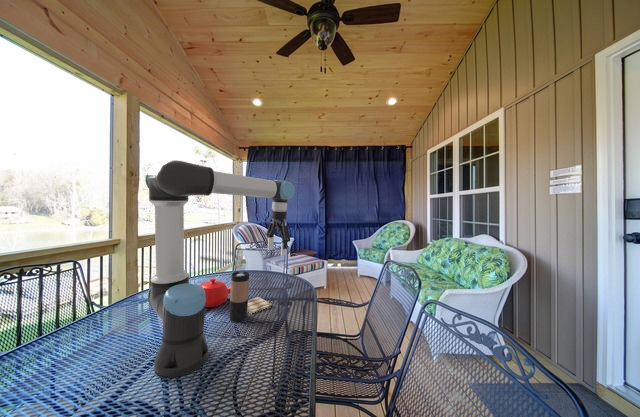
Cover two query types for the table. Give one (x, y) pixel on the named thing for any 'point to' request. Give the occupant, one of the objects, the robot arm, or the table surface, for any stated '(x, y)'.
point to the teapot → (215, 292)
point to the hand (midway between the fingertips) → (276, 252)
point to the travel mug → (239, 296)
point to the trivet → (257, 305)
